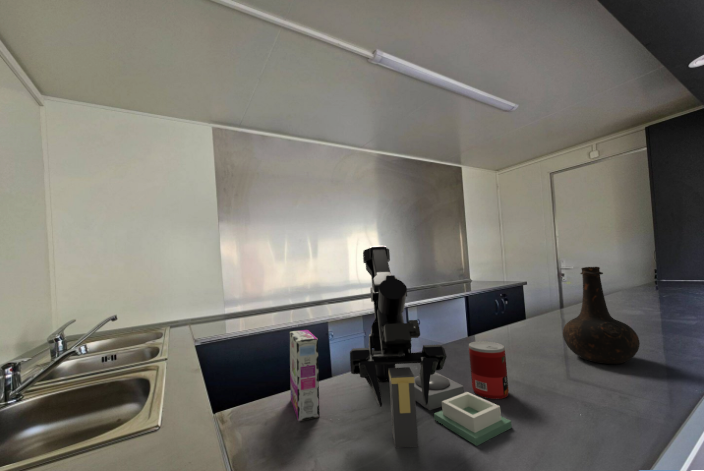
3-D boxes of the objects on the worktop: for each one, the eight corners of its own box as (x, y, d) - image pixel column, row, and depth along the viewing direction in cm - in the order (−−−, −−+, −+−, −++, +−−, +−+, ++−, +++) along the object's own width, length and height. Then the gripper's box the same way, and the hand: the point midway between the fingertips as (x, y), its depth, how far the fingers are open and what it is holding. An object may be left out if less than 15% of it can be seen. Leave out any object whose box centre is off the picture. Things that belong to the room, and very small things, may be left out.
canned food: (513, 400, 65) (508, 350, 66) (476, 399, 66) (471, 349, 67) (503, 386, 72) (499, 341, 73) (469, 385, 74) (466, 340, 75)
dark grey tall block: (392, 434, 54) (388, 368, 55) (413, 433, 54) (409, 367, 55) (395, 450, 49) (391, 377, 51) (419, 449, 49) (414, 376, 51)
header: (434, 419, 58) (433, 400, 59) (467, 406, 63) (466, 388, 64) (476, 445, 50) (474, 423, 50) (511, 427, 54) (509, 407, 55)
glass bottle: (580, 368, 81) (568, 268, 84) (556, 349, 98) (546, 267, 101) (660, 372, 76) (644, 266, 79) (619, 351, 93) (608, 265, 96)
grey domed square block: (403, 392, 71) (402, 377, 72) (436, 383, 75) (435, 370, 76) (429, 410, 62) (428, 393, 62) (464, 399, 66) (463, 384, 66)
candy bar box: (321, 417, 61) (318, 338, 63) (297, 423, 60) (295, 341, 61) (310, 395, 72) (308, 328, 73) (290, 400, 70) (288, 330, 72)
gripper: (348, 307, 58) (349, 388, 46) (439, 303, 58) (465, 382, 46) (350, 337, 65) (352, 414, 53) (432, 334, 65) (452, 409, 53)
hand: (403, 405), depth 51 cm, fingers open, 8 cm apart
